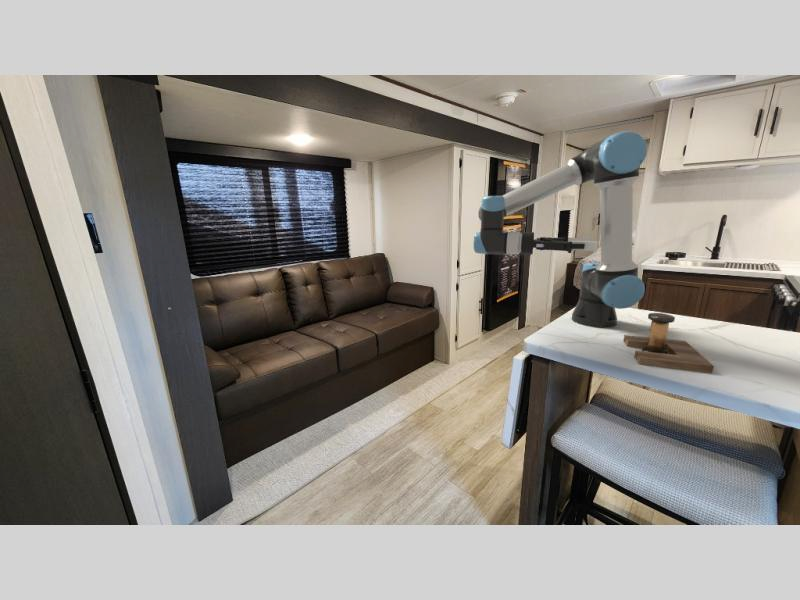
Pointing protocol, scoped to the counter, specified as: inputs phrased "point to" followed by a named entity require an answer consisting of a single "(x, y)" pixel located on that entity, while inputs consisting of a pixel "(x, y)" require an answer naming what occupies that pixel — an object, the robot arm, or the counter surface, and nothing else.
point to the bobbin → (658, 332)
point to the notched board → (670, 355)
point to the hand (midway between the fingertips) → (593, 243)
